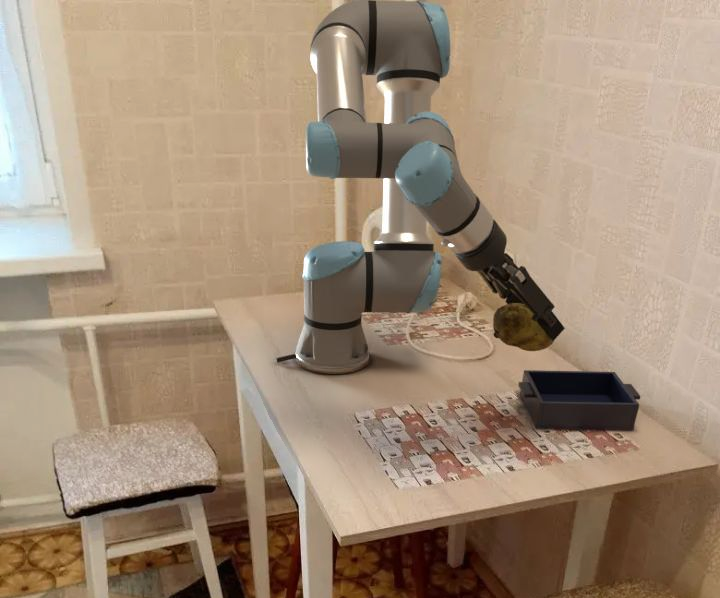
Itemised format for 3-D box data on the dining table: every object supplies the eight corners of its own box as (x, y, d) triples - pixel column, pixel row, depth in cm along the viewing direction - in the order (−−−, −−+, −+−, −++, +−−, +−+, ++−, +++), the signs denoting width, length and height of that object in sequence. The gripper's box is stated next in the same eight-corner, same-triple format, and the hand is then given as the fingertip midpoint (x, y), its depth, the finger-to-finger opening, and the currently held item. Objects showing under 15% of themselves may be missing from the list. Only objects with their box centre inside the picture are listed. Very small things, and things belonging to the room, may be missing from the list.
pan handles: (523, 397, 132) (524, 394, 131) (518, 385, 136) (518, 381, 136) (639, 399, 132) (640, 396, 132) (630, 387, 137) (631, 383, 136)
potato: (570, 355, 122) (579, 309, 118) (498, 360, 120) (505, 313, 115) (548, 337, 129) (555, 292, 125) (479, 342, 127) (485, 296, 122)
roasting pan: (535, 428, 130) (540, 403, 127) (519, 394, 142) (523, 370, 139) (633, 430, 131) (639, 404, 128) (609, 396, 142) (614, 371, 140)
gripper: (423, 238, 117) (495, 323, 132) (493, 274, 102) (565, 365, 117) (455, 201, 116) (524, 291, 131) (530, 231, 101) (598, 329, 116)
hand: (543, 325), depth 124 cm, fingers closed on potato, 7 cm apart
